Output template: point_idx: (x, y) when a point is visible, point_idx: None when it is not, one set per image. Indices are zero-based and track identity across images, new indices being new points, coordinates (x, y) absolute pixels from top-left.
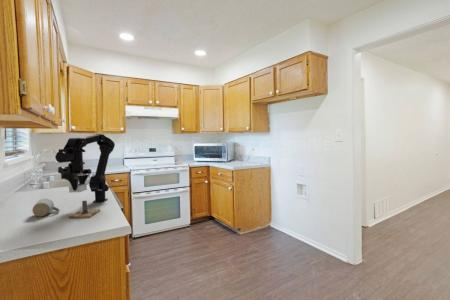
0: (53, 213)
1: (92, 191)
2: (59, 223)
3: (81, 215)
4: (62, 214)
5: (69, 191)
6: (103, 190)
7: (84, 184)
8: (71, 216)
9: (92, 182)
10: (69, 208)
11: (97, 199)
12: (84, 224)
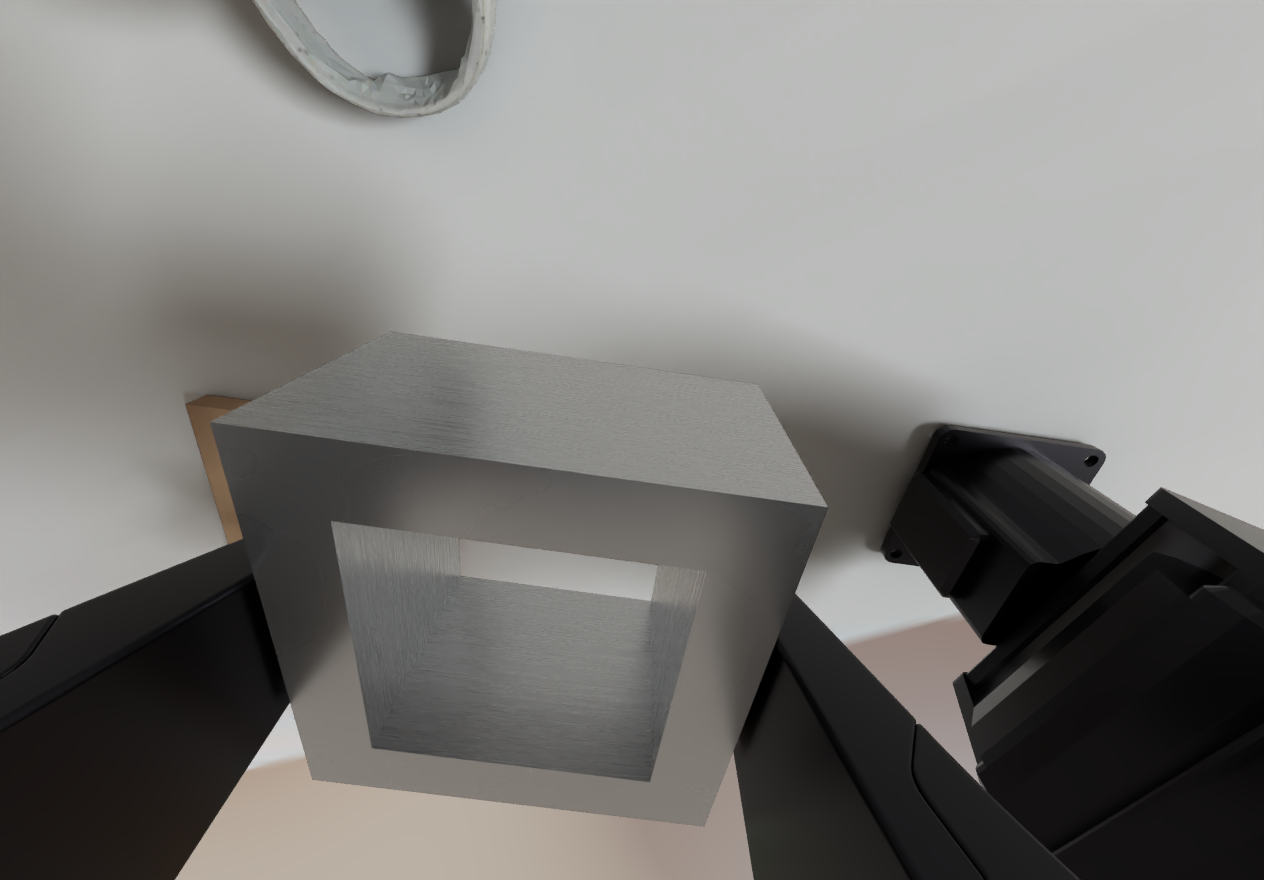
0: (323, 59)
1: (1143, 510)
2: (35, 367)
3: (234, 524)
4: (357, 224)
5: (372, 350)
6: (965, 708)
7: (571, 801)
8: (196, 432)
9: (1213, 791)
10: (688, 175)
11: (913, 518)
12: (84, 590)
